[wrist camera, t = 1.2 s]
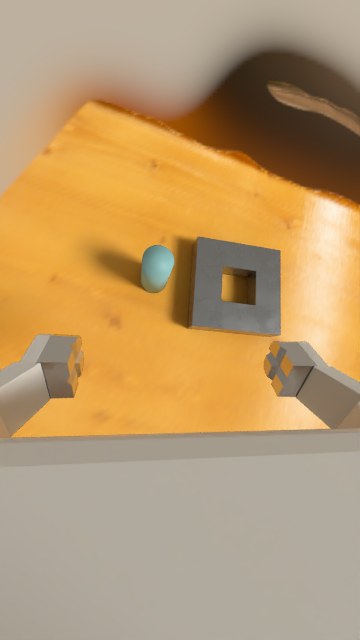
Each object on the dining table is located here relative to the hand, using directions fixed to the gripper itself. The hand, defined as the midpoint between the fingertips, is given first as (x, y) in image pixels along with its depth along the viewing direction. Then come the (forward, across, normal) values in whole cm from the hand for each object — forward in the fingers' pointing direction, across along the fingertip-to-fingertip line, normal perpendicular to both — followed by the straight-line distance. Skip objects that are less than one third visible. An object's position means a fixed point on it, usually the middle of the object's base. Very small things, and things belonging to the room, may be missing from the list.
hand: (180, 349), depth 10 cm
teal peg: (+27, 0, +10) cm, 29 cm away
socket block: (+27, -13, +10) cm, 32 cm away
